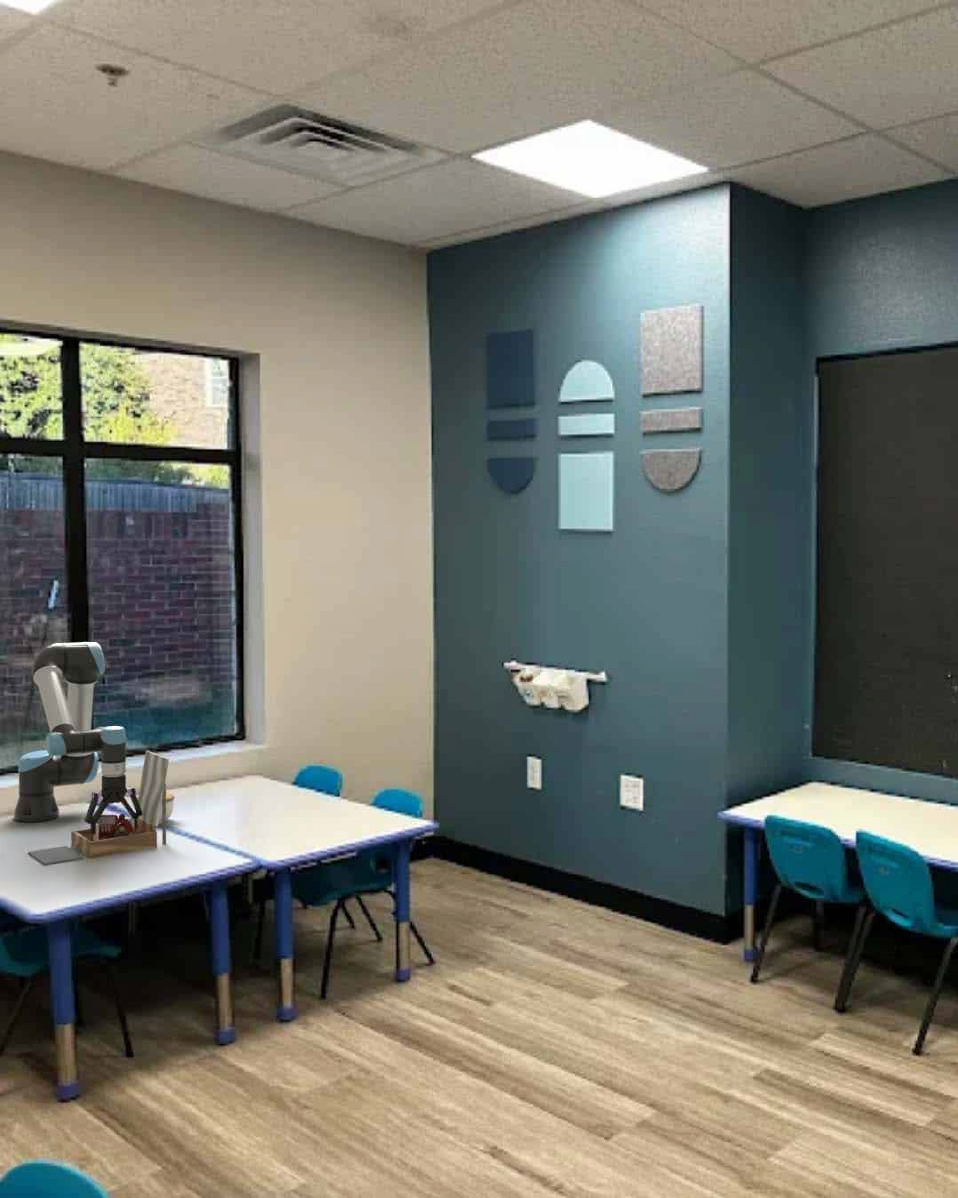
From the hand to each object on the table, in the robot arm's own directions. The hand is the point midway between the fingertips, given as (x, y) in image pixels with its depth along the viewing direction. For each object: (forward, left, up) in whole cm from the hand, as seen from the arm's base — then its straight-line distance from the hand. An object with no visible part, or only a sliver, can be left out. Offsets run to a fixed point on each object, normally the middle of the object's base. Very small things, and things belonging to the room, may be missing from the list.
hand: (114, 840), depth 377 cm
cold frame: (0, +2, -2) cm, 3 cm away
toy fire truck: (0, 0, -2) cm, 2 cm away
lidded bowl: (-23, +24, -2) cm, 33 cm away
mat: (0, -19, -2) cm, 19 cm away
